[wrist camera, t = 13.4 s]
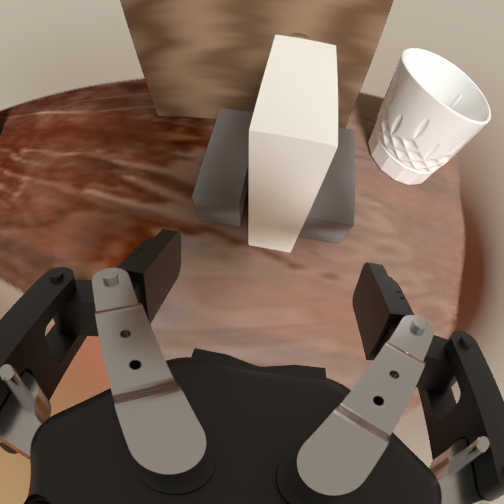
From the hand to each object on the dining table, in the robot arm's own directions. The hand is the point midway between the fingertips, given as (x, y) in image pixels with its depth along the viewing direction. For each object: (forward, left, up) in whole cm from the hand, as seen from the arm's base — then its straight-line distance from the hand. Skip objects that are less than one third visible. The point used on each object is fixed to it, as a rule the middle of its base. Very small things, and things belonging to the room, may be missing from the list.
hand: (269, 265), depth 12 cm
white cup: (+11, +14, -8) cm, 20 cm away
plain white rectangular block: (0, +7, -8) cm, 10 cm away
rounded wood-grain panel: (-4, +10, -8) cm, 13 cm away
